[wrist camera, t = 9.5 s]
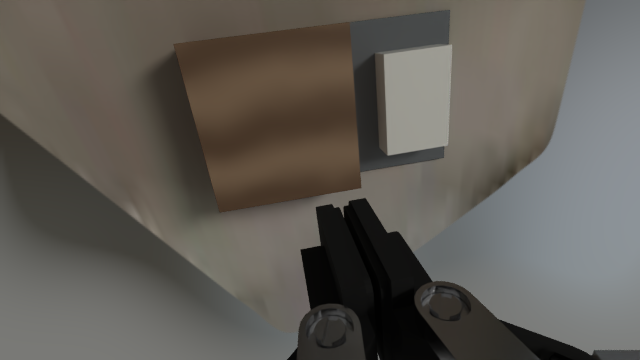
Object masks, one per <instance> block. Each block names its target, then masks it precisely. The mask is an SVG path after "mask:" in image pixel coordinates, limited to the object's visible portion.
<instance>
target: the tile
mask: <svg viewBox="0 0 640 360" xmlns="http://www.w3.org/2000/svg"><path fill="white" fill-rule="evenodd" d="M451 61H452V45H448V44H435V45H428V46H421V47H414V48H407V49H400V50H392V51H385V52H378V53H375V68H376V89H377V110H378V130H379V148H380V149H381V150H382V151H383V152H384V153H385V154H387V155H388V156H389V155H394V154H400V153H406V152H412V151H418V150H424V149H430V148H436V147H441V146H447V145H448V133H449V109H450V85H451Z"/></svg>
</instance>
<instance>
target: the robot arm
mask: <svg viewBox="0 0 640 360" xmlns="http://www.w3.org/2000/svg"><path fill="white" fill-rule="evenodd" d="M316 213H317V220H318V227H319V235H320V242H321V246H317V247H312V248H307V249H301V255H302V261H303V267H304V273H305V279H306V285H307V291H308V296H309V302H310V308H311V310H310V311H309V312H308V313H307V314H306V315H305V316H304V318H303V319H302V321H301V323H300V327H299V333H298V347H297V349H296V350H295V351H294V352H293V354H292V355H291V356H290V357H289V358H288V359H287V360H378V355H379V358H380V360H640V350H594V352H593V355H589V354H588V353H586V352H584V351H582V350H580V349H577V348H575V347H573V346H570V345H568V344H565V343H562V342H559V341H557V340H554V339H551V338H548V337H546V336H543V335H540V334H537V333H534V332H532V331H529V330H526V329H524V328H521V327H518V326H515V325H513V324H510V323H507V322H504V321H502V320H499V319H497V318H496V317H495V316H494V315H493V314H492V313H491V312H490V311H489V310H488V309H487V308H486V307H485V306H484V305H483V304H481V302H480V301H479V300H478V299H477V298H475V297H474V296H473V295H472V294H471V293H470V292H469V291H467V290H466V289H465V288H463V287H461V286H459V285H457V284H454V283H450V282H445V281H435V282H432V280H431V279H430V277H429V276H428V274H427V273H426V271H425V270H424V268H423V267H422V265H421V264H420V262H419V261H418V260H417V258H416V257H415V255H414V254H413V252H412V251H411V249H410V248H409V246H408V245H407V243H406V242H405V240H404V239H403V237H402V236H401V234H400V233H399V232H397V231H396V232H390V233H387V232H386V230H385V229H384V227H383V225H382V224H381V222H380V221H379V219H378V217H377V216H376V214H375V213H374V211H373V209H372V208H371V206H370V204H369V203H368V201H367V200H366V198H363V199H358V200H352V201H349V205H348V206H344V217H343V215H342V212H341V210H340V208H339V207H337V208H334V207H333V205H332V204H330V205H324V206H319V207H316ZM377 352H378V355H377Z"/></svg>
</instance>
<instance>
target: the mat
mask: <svg viewBox="0 0 640 360" xmlns="http://www.w3.org/2000/svg"><path fill="white" fill-rule="evenodd" d="M449 20H450V10H445V11H437V12H429V13H421V14H413V15H405V16H397V17H389V18H381V19H373V20H365V21H357V22H350V34H351V49H352V63H353V77H354V91H355V106H356V120H357V134H358V148H359V163H360V172H361V171H367V170H373V169H379V168H385V167H391V166H397V165H403V164H409V163H415V162H420V161H426V160H432V159H438V158H444V146H441V147H436V148H430V149H424V150H418V151H412V152H406V153H400V154H394V155H389V156H388V155H387V154H385V153H384V152H383V151H382V150H381V149H380V148H379V130H378V110H377V89H376V68H375V53H378V52H385V51H392V50H400V49H407V48H414V47H421V46H428V45H435V44H449Z"/></svg>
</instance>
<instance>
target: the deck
mask: <svg viewBox="0 0 640 360" xmlns="http://www.w3.org/2000/svg"><path fill="white" fill-rule="evenodd" d="M174 48H175V51H176V55H177V59H178V62H179V66H180V70H181V73H182V77H183V81H184V84H185V88H186V91H187V95H188V99H189V102H190V106H191V110H192V113H193V117H194V121H195V124H196V128H197V131H198V135H199V139H200V142H201V146H202V150H203V153H204V157H205V161H206V164H207V168H208V172H209V175H210V179H211V182H212V186H213V190H214V193H215V197H216V201H217V204H218V208H219V212H226V211H231V210H237V209H243V208H249V207H255V206H260V205H266V204H272V203H278V202H283V201H289V200H295V199H301V198H306V197H312V196H318V195H324V194H329V193H335V192H341V191H347V190H353V189H358V188H361V177H360V163H359V148H358V134H357V120H356V106H355V91H354V77H353V63H352V49H351V34H350V22H346V23H338V24H330V25H322V26H314V27H306V28H298V29H290V30H282V31H274V32H266V33H258V34H250V35H242V36H234V37H226V38H218V39H210V40H202V41H194V42H186V43H178V44H174Z"/></svg>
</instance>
